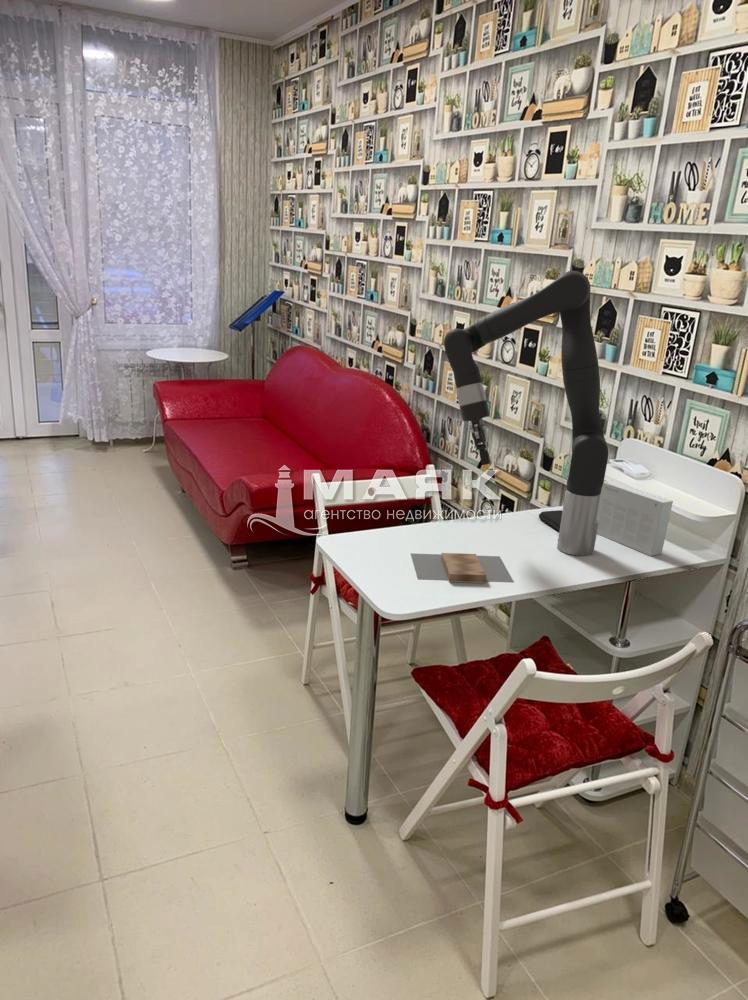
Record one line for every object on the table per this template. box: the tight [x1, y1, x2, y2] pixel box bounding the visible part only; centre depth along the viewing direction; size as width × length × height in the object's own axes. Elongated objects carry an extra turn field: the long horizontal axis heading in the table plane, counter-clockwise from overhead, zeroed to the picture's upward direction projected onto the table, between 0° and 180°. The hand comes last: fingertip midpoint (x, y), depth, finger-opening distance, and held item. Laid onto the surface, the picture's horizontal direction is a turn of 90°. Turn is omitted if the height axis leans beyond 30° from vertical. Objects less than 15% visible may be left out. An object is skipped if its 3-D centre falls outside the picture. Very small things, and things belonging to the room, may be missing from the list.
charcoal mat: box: [410, 552, 515, 583], centre depth 192 cm, size 24×16×1 cm, turn 94°
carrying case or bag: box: [538, 509, 563, 533], centre depth 228 cm, size 11×3×15 cm
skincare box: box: [596, 480, 674, 557], centre depth 216 cm, size 21×6×16 cm, turn 35°
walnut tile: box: [441, 552, 486, 584], centre depth 189 cm, size 9×2×13 cm
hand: (486, 464), depth 205 cm, fingers closed
